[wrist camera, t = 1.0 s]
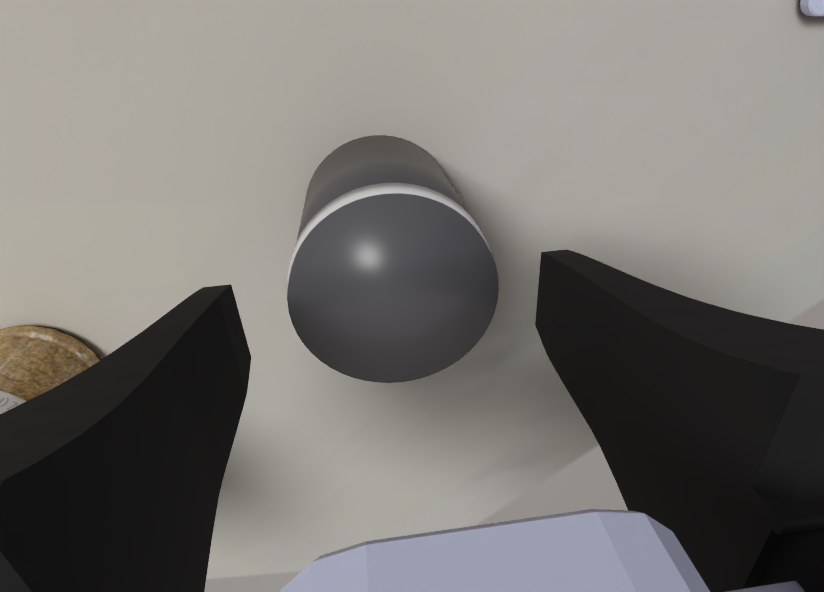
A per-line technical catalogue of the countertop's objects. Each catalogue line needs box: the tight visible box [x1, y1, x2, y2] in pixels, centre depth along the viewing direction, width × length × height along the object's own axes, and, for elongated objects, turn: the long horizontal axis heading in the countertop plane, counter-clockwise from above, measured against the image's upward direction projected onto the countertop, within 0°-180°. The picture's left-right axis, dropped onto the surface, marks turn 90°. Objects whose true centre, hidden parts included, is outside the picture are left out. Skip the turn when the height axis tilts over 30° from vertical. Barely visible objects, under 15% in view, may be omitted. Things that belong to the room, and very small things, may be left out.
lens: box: [287, 135, 498, 383], centre depth 14 cm, size 5×5×6 cm
